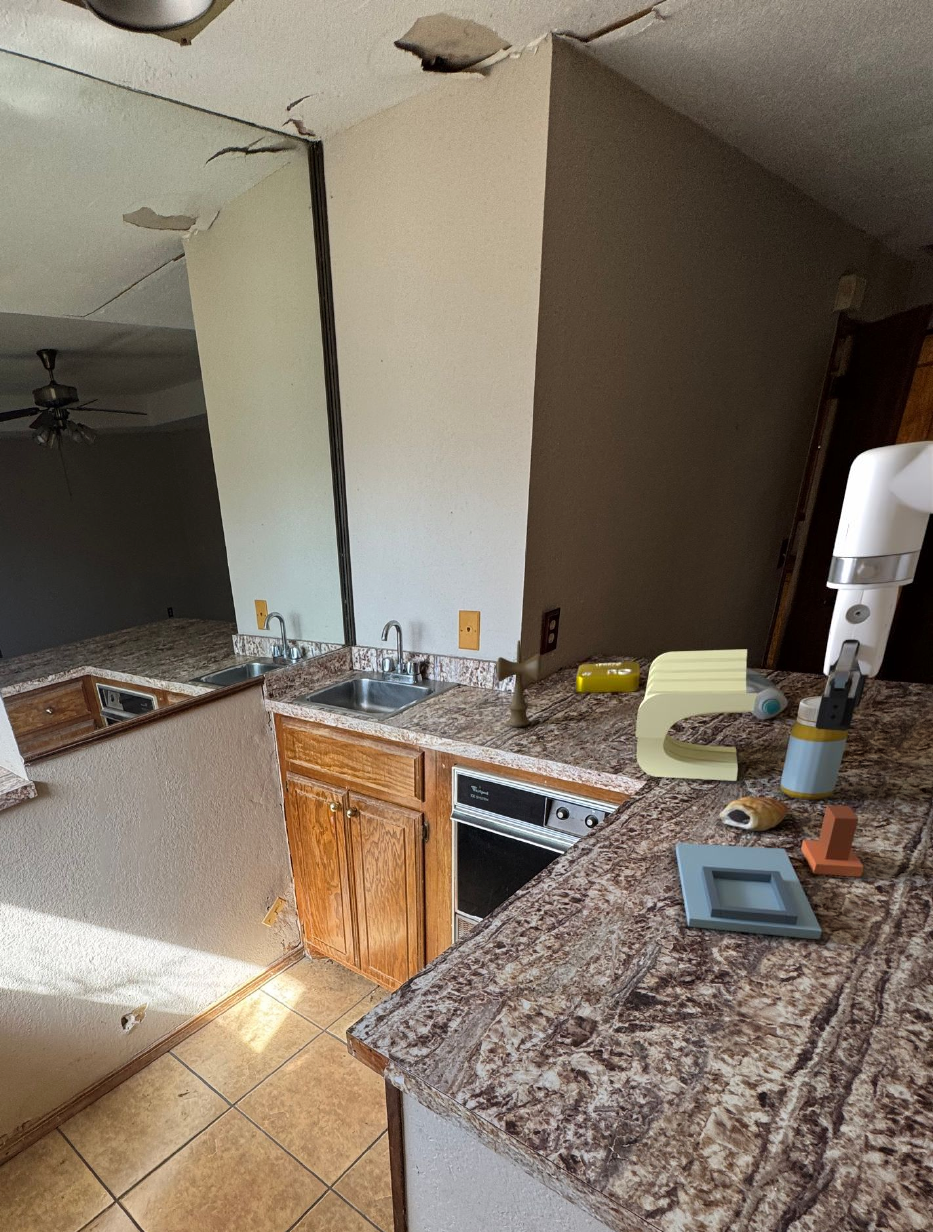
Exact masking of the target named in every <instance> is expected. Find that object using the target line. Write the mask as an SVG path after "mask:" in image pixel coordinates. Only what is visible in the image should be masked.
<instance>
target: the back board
mask: <svg viewBox="0 0 933 1232" xmlns="http://www.w3.org/2000/svg"><path fill="white" fill-rule="evenodd" d="M675 854H676V860H677V866H678V872H679V878H680V879H679V880H680V884H681V891H682V896H683V904H684V910H685V915H686V922H687V927H689V928H700V929H709V930H720V931H729V932H740V933H750V934H759V935H770V936H771V935H772V936H780V937H792V938H801V939H812V940H820V939H821V936H822V932H823V931H822V928H821V926H820V923H819V922H818V919H817V917H816V915H815V913H814V911H813V909H812V906H811V904H810V901H809V900H808V897H807V895H806V892H805V891H804V888H803V886H802V884H801V882H800V880H799V877H798V875H797V873H796V870H795V869H794V866H793V863H792V862H791V859H790V858H789V855H788V853H787V851H786V849H785V848H775V847H757V846H740V845H738V846H737V845H721V844H720V845H719V844H701V843H682V842H676V845H675Z"/></svg>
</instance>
